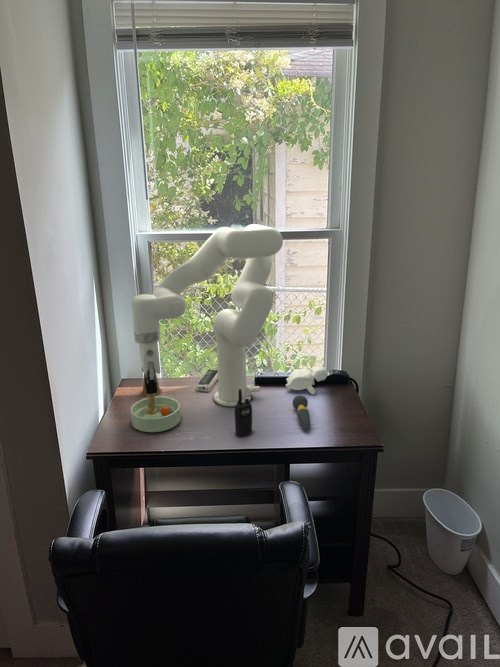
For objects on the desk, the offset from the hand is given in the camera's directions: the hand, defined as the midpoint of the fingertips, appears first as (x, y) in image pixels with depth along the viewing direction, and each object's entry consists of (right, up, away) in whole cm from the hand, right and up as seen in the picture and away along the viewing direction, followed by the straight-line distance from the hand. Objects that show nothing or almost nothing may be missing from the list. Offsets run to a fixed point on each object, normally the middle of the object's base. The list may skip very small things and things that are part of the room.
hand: (151, 390), depth 160 cm
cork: (-4, -3, +22) cm, 22 cm away
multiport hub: (+16, -1, +28) cm, 32 cm away
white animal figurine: (+51, -2, +23) cm, 56 cm away
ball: (+4, -7, +3) cm, 9 cm away
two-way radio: (+29, -12, -5) cm, 32 cm away
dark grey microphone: (+48, -9, +3) cm, 49 cm away
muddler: (0, -7, +2) cm, 8 cm away
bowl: (+1, -10, +1) cm, 10 cm away
